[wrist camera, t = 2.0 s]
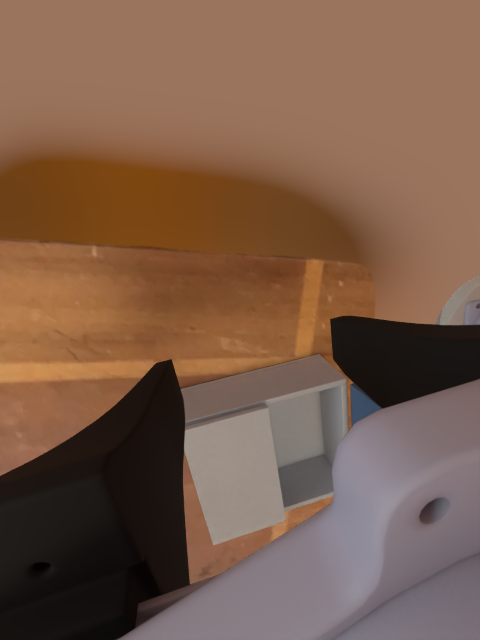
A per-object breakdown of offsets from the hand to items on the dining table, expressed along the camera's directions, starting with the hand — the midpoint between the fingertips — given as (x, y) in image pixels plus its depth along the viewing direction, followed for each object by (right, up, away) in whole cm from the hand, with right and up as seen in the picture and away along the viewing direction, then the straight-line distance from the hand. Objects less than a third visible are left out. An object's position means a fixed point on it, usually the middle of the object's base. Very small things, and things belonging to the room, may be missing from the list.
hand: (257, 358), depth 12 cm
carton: (+1, -8, +14) cm, 17 cm away
